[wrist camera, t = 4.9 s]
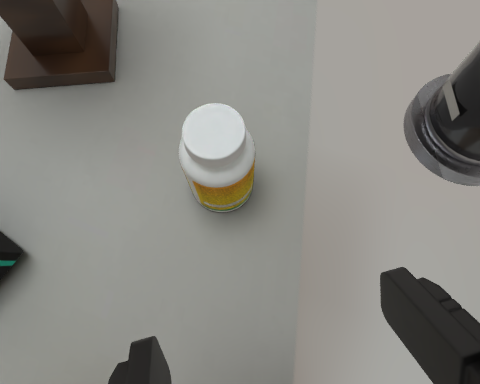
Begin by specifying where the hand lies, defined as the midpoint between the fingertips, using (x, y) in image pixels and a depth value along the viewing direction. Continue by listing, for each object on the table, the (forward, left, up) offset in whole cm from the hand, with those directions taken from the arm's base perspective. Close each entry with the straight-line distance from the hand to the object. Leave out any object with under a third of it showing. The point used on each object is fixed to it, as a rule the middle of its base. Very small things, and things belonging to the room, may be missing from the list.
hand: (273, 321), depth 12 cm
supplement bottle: (+2, -11, -16) cm, 19 cm away
